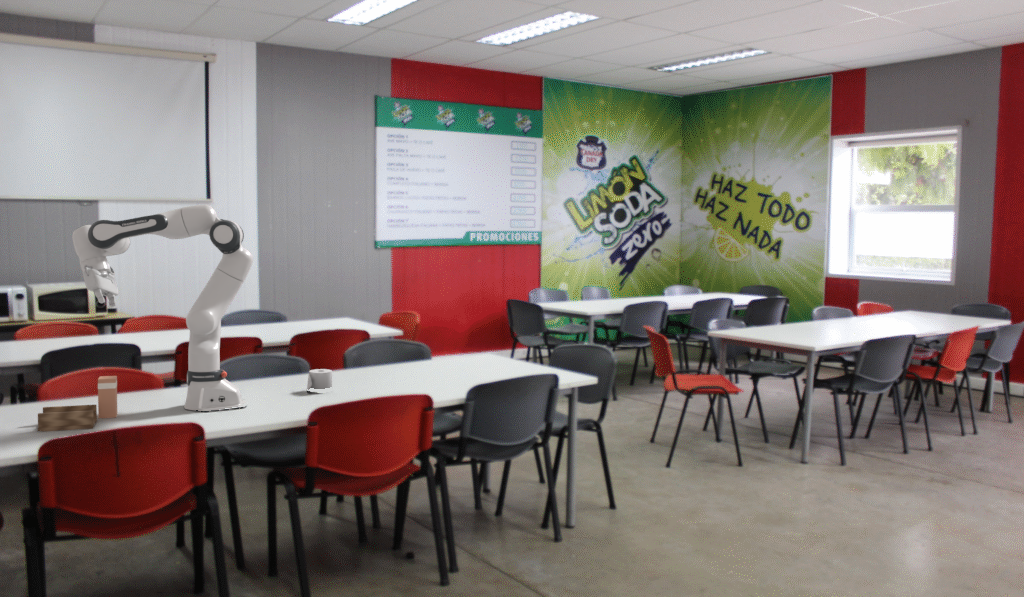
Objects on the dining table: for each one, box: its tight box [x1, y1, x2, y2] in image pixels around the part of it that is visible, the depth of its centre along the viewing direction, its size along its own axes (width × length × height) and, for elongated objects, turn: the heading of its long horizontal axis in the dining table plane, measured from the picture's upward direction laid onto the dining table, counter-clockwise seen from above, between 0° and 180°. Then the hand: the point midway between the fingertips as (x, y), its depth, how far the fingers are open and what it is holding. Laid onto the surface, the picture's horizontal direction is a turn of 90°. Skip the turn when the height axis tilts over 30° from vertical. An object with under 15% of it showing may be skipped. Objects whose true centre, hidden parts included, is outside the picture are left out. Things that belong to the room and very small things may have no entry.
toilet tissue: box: [306, 368, 333, 390], centre depth 330 cm, size 9×13×9 cm
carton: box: [97, 375, 118, 419], centre depth 279 cm, size 6×6×14 cm
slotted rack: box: [37, 404, 98, 432], centre depth 265 cm, size 16×12×6 cm
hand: (108, 304), depth 283 cm, fingers open, 8 cm apart
